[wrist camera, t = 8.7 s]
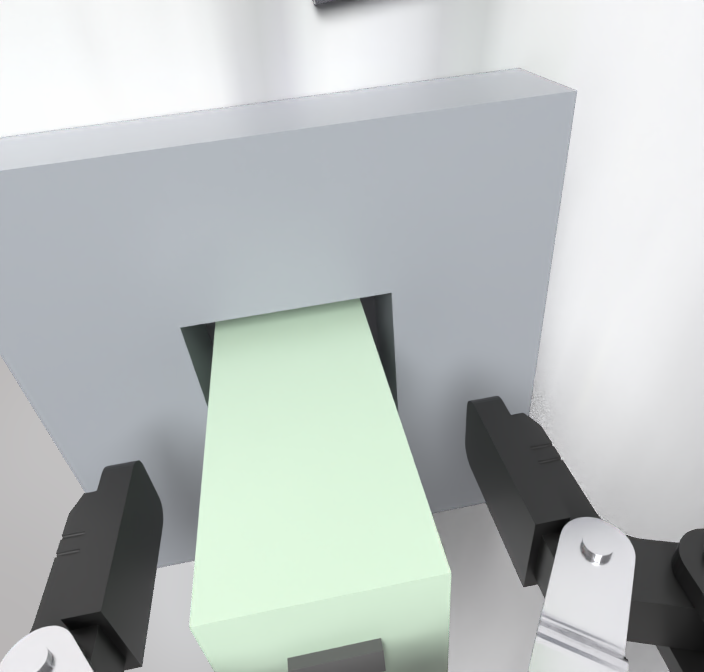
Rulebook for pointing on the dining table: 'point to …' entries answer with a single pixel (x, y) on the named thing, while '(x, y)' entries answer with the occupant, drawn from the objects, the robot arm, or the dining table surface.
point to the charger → (313, 507)
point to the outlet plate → (281, 263)
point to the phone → (320, 1)
